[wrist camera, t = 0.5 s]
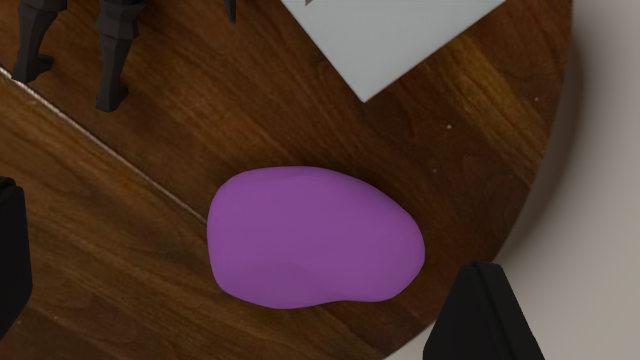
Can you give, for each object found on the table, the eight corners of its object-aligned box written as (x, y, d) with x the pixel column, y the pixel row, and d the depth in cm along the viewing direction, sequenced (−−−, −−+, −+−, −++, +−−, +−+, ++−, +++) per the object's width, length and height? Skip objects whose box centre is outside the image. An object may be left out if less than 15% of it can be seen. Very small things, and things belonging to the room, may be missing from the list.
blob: (440, 202, 35) (457, 248, 31) (366, 309, 40) (371, 361, 36) (244, 120, 32) (232, 158, 28) (190, 247, 37) (172, 295, 33)
